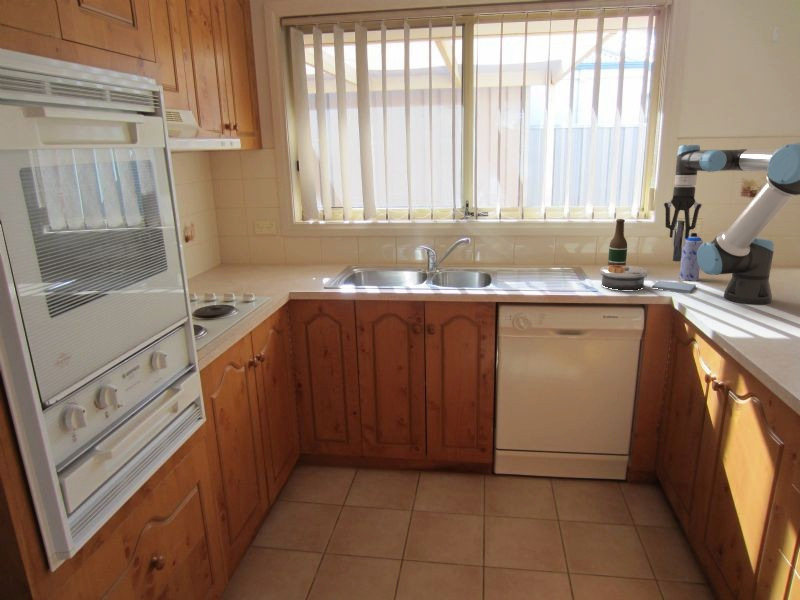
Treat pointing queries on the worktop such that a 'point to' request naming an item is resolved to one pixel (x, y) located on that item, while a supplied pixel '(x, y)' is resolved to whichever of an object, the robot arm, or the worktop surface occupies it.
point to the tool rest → (674, 286)
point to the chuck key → (678, 240)
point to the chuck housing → (622, 283)
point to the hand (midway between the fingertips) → (678, 246)
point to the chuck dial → (623, 272)
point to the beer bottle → (618, 246)
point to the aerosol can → (690, 258)
